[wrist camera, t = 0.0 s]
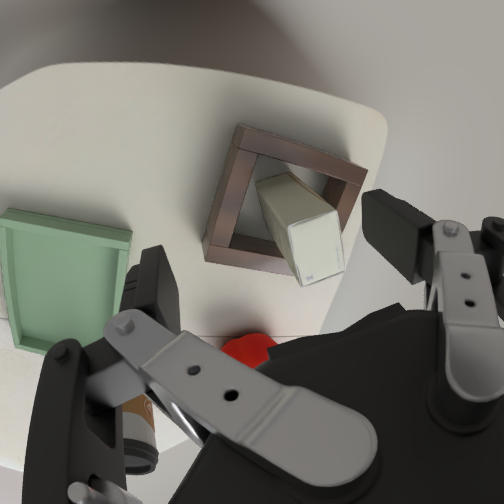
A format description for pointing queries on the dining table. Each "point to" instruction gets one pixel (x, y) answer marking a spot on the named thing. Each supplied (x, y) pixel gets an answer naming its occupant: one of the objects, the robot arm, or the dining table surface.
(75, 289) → the tray
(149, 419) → the coffee cup
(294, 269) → the cosmetic box
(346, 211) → the wooden square frame
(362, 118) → the dining table surface
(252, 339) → the tomato
